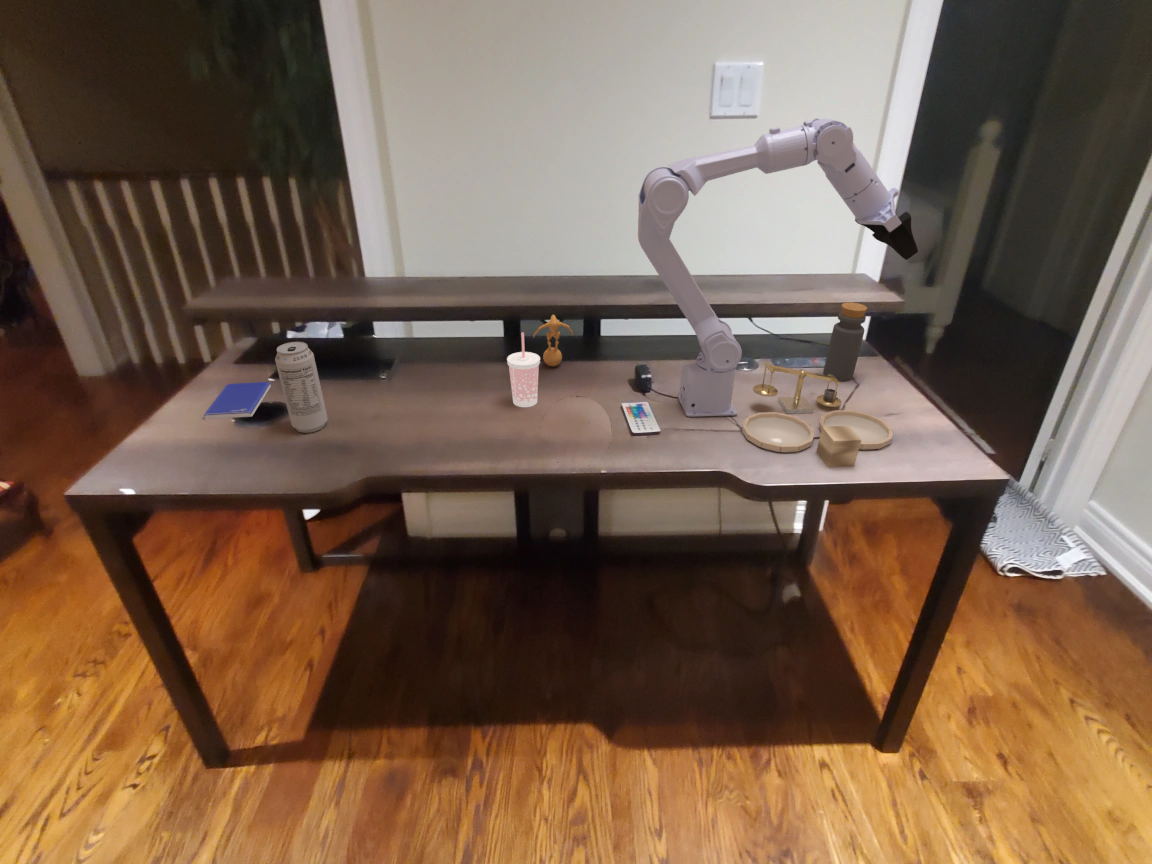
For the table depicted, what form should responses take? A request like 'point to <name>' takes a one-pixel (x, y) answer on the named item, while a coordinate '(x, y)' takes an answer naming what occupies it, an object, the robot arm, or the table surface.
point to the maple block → (838, 446)
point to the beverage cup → (524, 376)
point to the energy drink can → (301, 386)
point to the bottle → (845, 342)
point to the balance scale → (799, 391)
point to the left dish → (778, 432)
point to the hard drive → (238, 400)
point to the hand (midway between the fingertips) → (902, 247)
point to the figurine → (553, 354)
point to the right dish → (861, 427)
